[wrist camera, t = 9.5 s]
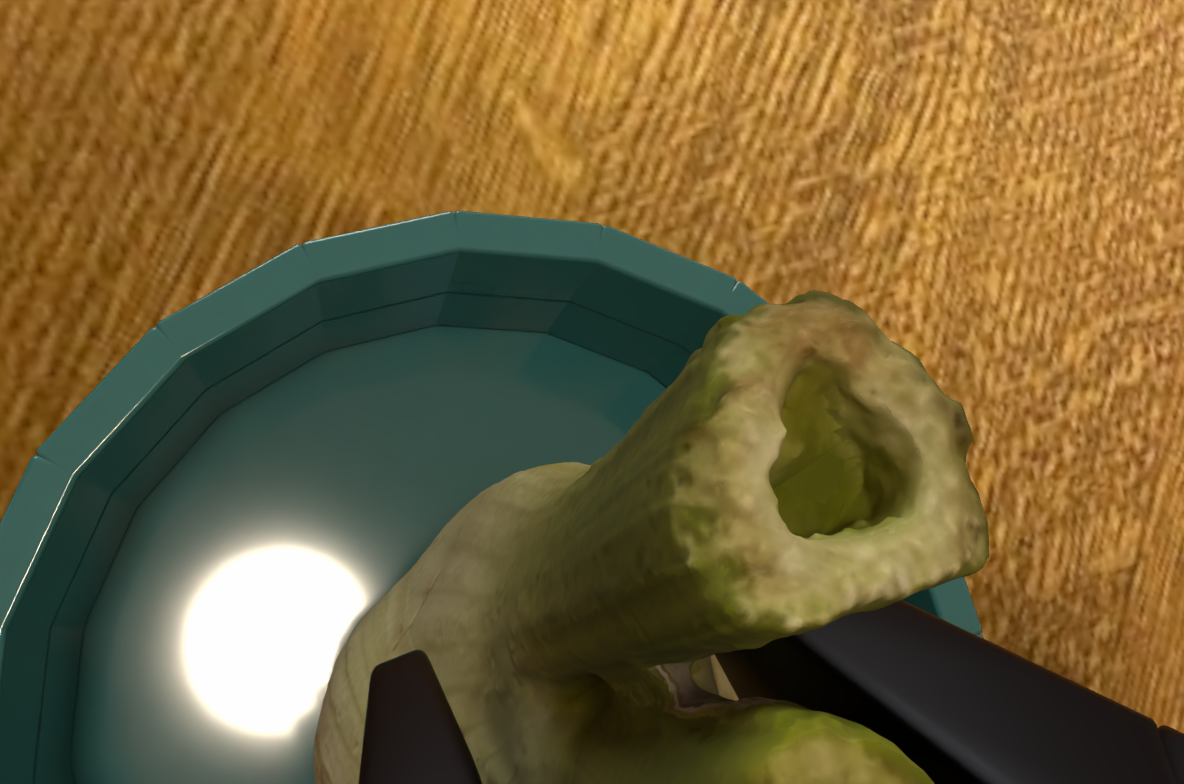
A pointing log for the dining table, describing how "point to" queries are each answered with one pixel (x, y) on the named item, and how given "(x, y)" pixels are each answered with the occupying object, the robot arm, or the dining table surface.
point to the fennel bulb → (686, 569)
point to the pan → (312, 478)
